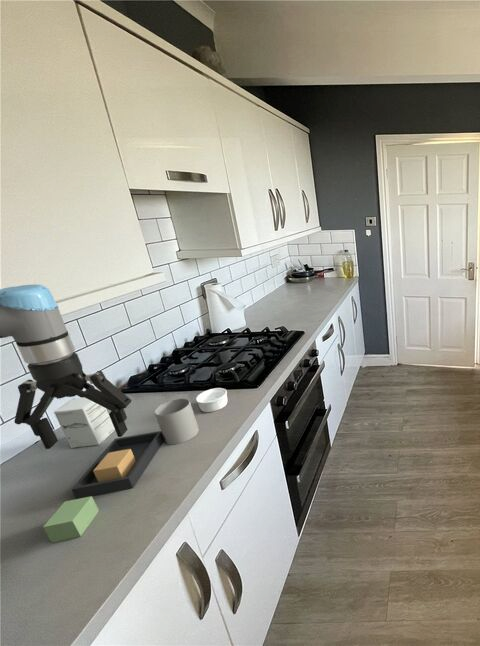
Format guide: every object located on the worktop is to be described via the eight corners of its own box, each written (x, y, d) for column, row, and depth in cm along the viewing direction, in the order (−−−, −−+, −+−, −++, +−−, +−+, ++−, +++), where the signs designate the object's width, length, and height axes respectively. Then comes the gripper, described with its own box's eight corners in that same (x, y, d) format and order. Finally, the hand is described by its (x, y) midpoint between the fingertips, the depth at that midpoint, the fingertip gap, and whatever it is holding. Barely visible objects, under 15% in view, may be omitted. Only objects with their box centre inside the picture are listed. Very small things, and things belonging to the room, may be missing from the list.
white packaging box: (70, 449, 99) (51, 411, 94) (89, 432, 106) (73, 396, 101) (99, 445, 100) (82, 408, 95) (116, 429, 107) (101, 394, 102)
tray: (76, 499, 82) (70, 489, 81) (118, 447, 99) (114, 438, 98) (133, 488, 85) (129, 478, 84) (165, 439, 102) (162, 430, 101)
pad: (51, 542, 72) (42, 527, 70) (72, 516, 78) (64, 501, 76) (81, 536, 73) (72, 520, 72) (99, 510, 79) (91, 496, 77)
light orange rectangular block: (99, 485, 85) (92, 470, 84) (114, 466, 91) (108, 452, 90) (123, 480, 87) (117, 466, 85) (136, 462, 92) (130, 448, 91)
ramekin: (235, 399, 120) (232, 389, 119) (215, 415, 112) (211, 403, 111) (214, 397, 122) (211, 386, 121) (192, 412, 114) (189, 400, 113)
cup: (195, 422, 109) (187, 395, 105) (201, 434, 103) (192, 406, 100) (163, 434, 104) (152, 406, 100) (167, 448, 98) (156, 419, 94)
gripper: (130, 343, 80) (157, 419, 88) (-9, 358, 74) (33, 439, 81) (112, 357, 74) (143, 438, 81) (-42, 375, 67) (7, 461, 75)
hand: (88, 439), depth 81 cm, fingers open, 13 cm apart
